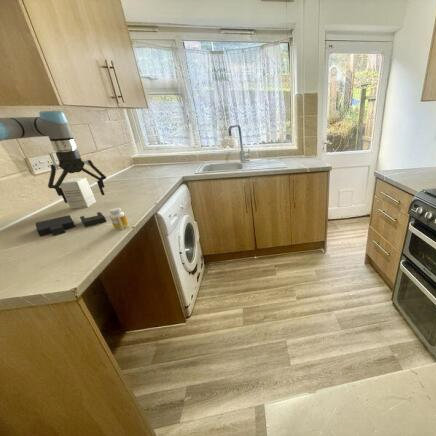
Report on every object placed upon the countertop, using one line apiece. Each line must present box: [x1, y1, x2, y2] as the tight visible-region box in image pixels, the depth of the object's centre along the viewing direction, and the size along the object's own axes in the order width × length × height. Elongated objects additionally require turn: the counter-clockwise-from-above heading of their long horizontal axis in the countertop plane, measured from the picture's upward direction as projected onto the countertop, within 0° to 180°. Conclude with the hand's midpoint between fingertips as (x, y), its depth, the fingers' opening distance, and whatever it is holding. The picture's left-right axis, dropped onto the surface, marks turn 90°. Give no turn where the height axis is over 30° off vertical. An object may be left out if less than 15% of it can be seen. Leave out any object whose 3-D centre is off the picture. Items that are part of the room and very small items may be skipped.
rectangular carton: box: [60, 177, 97, 210], centre depth 135 cm, size 9×9×15 cm
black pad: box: [79, 211, 107, 228], centre depth 115 cm, size 10×8×3 cm
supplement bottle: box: [109, 207, 130, 231], centre depth 107 cm, size 5×5×10 cm
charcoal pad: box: [35, 214, 76, 237], centre depth 109 cm, size 16×12×3 cm
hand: (85, 198), depth 111 cm, fingers open, 13 cm apart
